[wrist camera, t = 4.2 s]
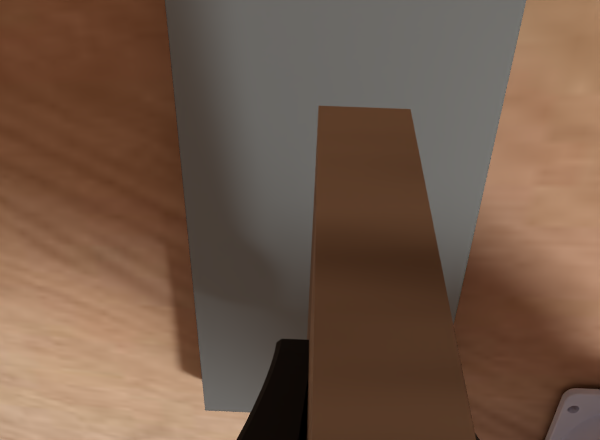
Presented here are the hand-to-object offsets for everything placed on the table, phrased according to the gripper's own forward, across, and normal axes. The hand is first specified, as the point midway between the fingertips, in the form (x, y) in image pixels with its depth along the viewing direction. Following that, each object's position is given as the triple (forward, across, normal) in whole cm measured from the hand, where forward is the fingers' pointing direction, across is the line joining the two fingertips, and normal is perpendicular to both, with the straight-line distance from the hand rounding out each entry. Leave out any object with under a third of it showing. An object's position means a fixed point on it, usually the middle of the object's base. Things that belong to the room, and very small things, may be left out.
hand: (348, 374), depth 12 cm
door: (+3, 0, +1) cm, 3 cm away
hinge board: (+9, 0, +2) cm, 10 cm away
